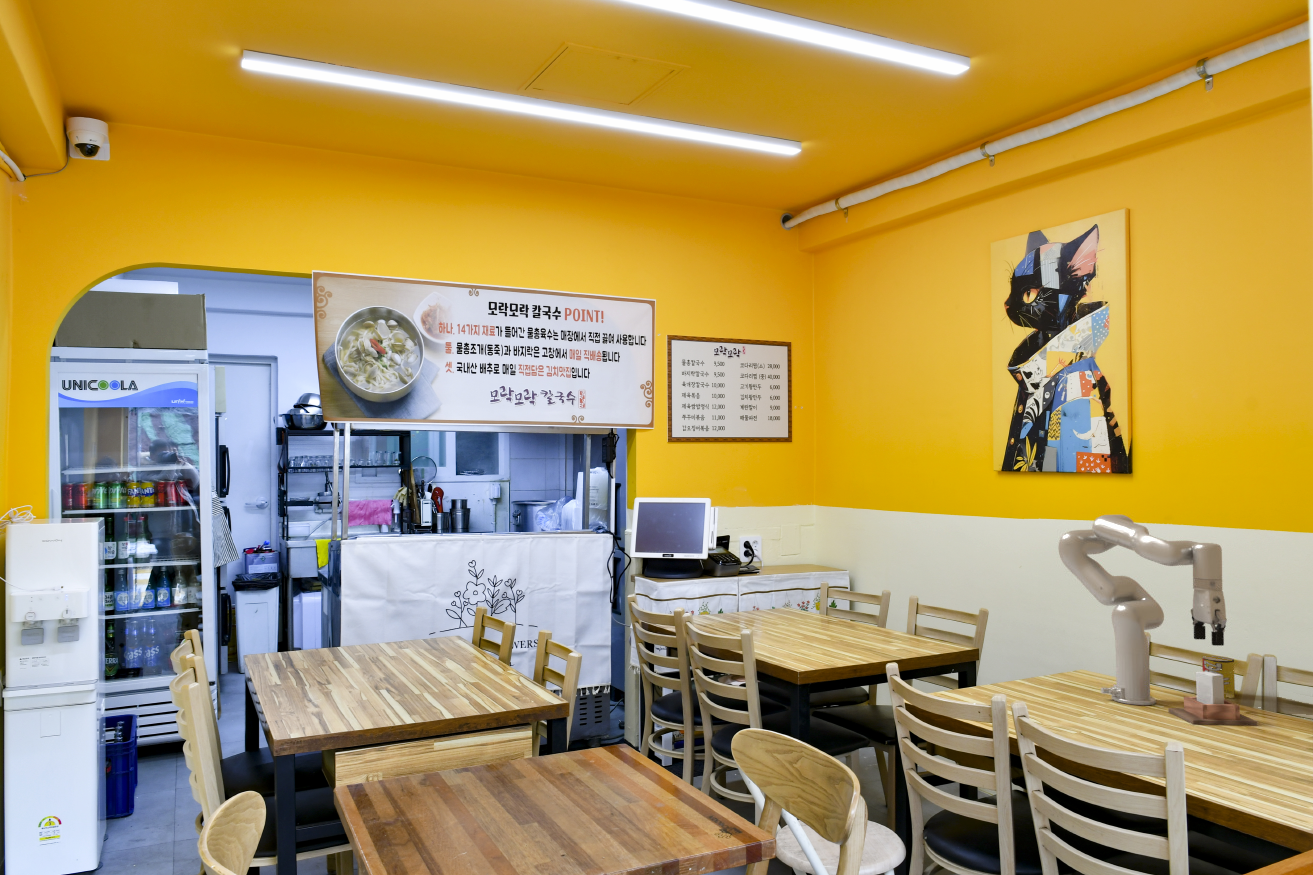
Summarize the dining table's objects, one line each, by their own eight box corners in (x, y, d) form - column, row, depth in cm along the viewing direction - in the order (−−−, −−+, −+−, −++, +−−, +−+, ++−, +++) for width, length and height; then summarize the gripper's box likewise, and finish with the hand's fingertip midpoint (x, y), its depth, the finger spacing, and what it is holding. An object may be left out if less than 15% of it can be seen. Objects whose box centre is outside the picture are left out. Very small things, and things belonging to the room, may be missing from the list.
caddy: (1193, 724, 262) (1192, 706, 262) (1168, 712, 276) (1168, 694, 276) (1257, 725, 261) (1256, 707, 261) (1229, 712, 275) (1228, 695, 275)
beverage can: (1201, 690, 305) (1200, 654, 305) (1232, 693, 301) (1231, 657, 301) (1204, 696, 296) (1203, 659, 297) (1237, 699, 293) (1236, 661, 293)
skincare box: (1225, 716, 267) (1224, 675, 267) (1213, 717, 266) (1212, 675, 266) (1207, 711, 273) (1206, 670, 273) (1196, 711, 272) (1195, 671, 272)
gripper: (1237, 588, 262) (1238, 647, 261) (1204, 581, 279) (1205, 637, 278) (1210, 588, 262) (1211, 647, 262) (1179, 580, 280) (1180, 636, 279)
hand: (1208, 642), depth 270 cm, fingers open, 9 cm apart
